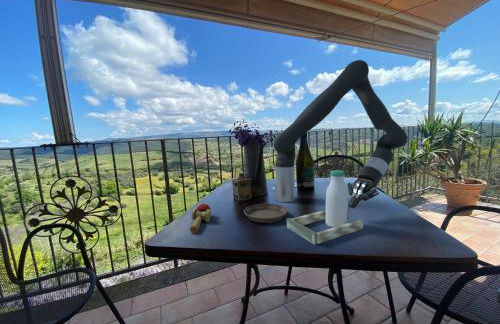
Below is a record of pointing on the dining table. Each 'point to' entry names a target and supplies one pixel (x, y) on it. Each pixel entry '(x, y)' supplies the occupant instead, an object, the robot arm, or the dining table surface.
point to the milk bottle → (336, 200)
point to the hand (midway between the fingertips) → (350, 206)
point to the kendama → (200, 216)
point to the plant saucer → (265, 213)
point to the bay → (322, 236)
